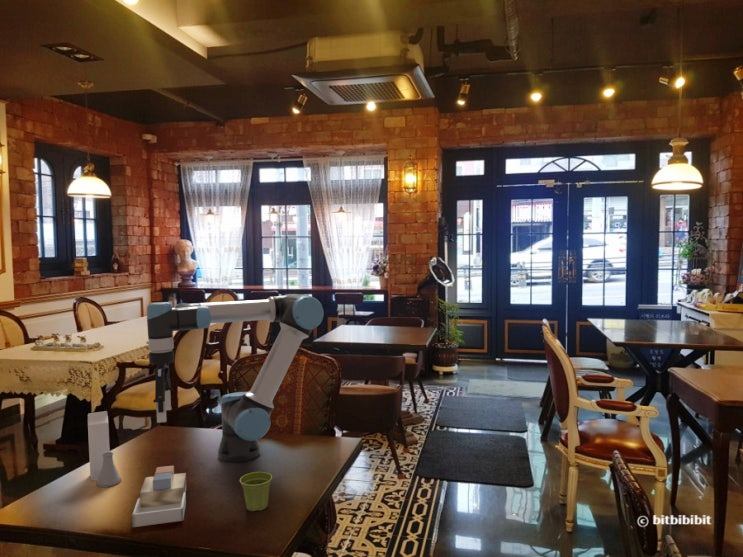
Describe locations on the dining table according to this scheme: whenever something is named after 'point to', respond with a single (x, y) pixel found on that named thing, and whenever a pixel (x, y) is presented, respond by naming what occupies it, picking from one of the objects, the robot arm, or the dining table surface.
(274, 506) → the dining table surface
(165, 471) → the terracotta tile
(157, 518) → the box
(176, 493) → the cream square tray
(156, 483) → the slate tile
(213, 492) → the dining table surface
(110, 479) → the flask
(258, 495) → the plant pot
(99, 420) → the milk
